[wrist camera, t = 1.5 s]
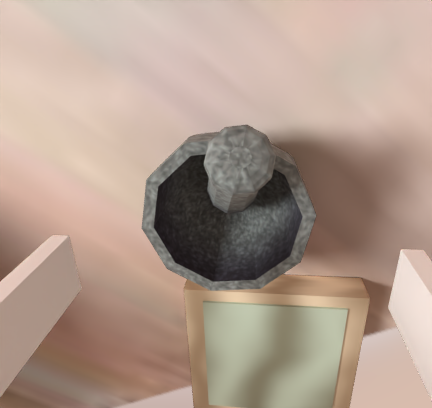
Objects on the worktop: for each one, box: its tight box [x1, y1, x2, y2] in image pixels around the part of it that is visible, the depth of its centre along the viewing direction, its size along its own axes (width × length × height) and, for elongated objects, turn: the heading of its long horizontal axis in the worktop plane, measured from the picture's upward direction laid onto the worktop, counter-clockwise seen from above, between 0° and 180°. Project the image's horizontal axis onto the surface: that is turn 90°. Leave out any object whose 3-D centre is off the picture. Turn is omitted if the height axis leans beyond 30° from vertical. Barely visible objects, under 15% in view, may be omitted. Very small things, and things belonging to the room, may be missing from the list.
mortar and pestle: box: [142, 125, 316, 291], centre depth 20 cm, size 11×9×12 cm
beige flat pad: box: [184, 275, 370, 408], centre depth 30 cm, size 14×14×3 cm
